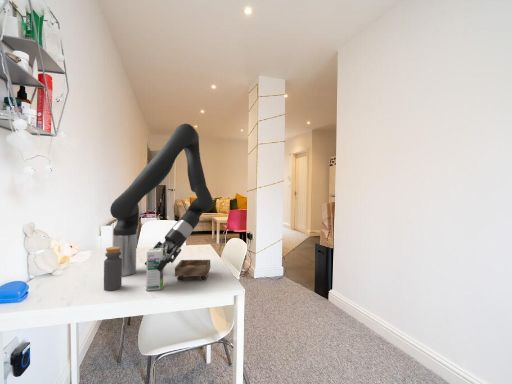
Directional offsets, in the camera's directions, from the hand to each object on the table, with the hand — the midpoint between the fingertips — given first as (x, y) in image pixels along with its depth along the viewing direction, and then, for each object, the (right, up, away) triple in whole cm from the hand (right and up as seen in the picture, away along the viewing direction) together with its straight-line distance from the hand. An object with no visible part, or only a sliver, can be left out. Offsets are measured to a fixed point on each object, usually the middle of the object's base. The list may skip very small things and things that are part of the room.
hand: (152, 267), depth 96 cm
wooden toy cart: (+12, -8, +14) cm, 20 cm away
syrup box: (+1, -8, +1) cm, 8 cm away
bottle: (-15, -8, 0) cm, 17 cm away
